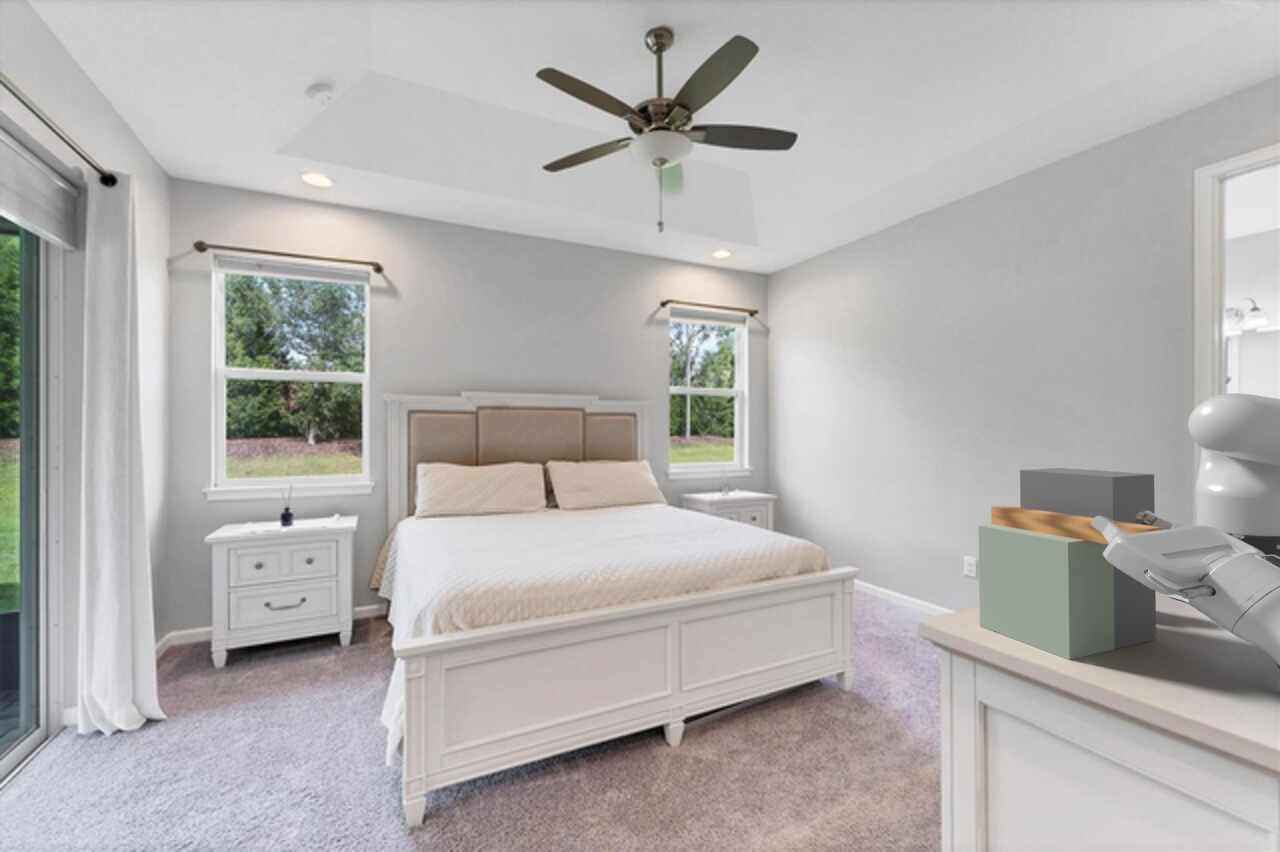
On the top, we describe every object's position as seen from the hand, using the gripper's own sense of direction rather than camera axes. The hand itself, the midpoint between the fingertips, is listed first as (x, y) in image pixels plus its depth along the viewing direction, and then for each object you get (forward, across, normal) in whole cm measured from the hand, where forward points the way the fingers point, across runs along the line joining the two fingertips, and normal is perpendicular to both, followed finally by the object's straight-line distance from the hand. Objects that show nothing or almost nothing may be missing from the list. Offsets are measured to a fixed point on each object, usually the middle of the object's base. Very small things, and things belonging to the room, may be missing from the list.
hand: (1118, 516), depth 76 cm
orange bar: (+4, 0, -7) cm, 8 cm away
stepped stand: (-1, +5, -23) cm, 24 cm away
